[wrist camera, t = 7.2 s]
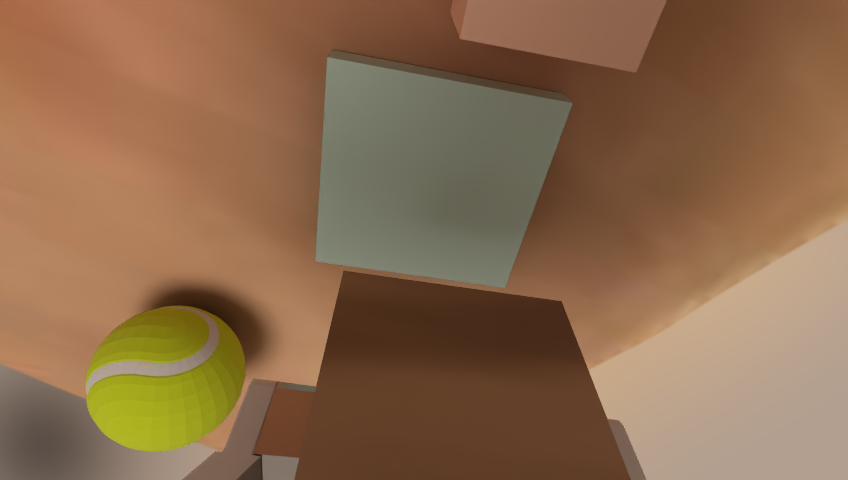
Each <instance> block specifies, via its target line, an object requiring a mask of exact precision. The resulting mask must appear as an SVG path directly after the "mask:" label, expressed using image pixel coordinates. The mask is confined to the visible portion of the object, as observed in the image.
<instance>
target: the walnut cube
mask: <svg viewBox="0 0 848 480" xmlns="http://www.w3.org/2000/svg"><path fill="white" fill-rule="evenodd" d="M294 480H631V479H630V476H629V474H628V471H627V469H626V466H625V463H624V461H623V458H622V456H621V453H620V451H619V448H618V445H617V443H616V440H615V438H614V435H613V433H612V430H611V427H610V425H609V422H608V420H607V417H606V415H605V412H604V410H603V407H602V404H601V402H600V399H599V397H598V394H597V391H596V389H595V386H594V384H593V381H592V379H591V376H590V374H589V371H588V368H587V366H586V363H585V361H584V358H583V355H582V353H581V350H580V348H579V345H578V343H577V340H576V337H575V335H574V332H573V330H572V327H571V325H570V322H569V319H568V317H567V314H566V312H565V309H564V307H563V304H562V301H555V300H548V299H541V298H533V297H526V296H519V295H512V294H505V293H498V292H491V291H484V290H476V289H469V288H462V287H455V286H448V285H441V284H434V283H426V282H419V281H412V280H405V279H398V278H391V277H384V276H377V275H369V274H362V273H355V272H348V271H343V275H342V280H341V284H340V288H339V292H338V297H337V301H336V305H335V309H334V313H333V318H332V322H331V326H330V330H329V335H328V339H327V343H326V347H325V352H324V356H323V360H322V364H321V369H320V373H319V377H318V381H317V385H316V390H315V394H314V398H313V402H312V407H311V411H310V415H309V419H308V424H307V428H306V432H305V436H304V440H303V445H302V449H301V453H300V457H299V462H298V466H297V470H296V474H295V479H294Z"/></svg>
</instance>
